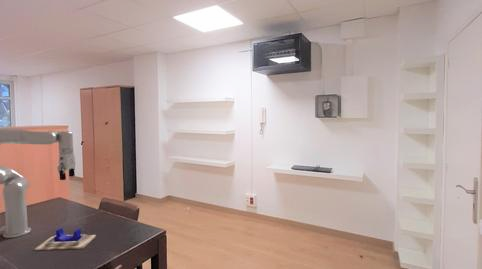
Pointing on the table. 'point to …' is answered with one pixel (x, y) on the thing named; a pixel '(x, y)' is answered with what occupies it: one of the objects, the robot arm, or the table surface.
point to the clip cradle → (65, 243)
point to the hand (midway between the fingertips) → (67, 178)
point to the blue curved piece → (64, 238)
